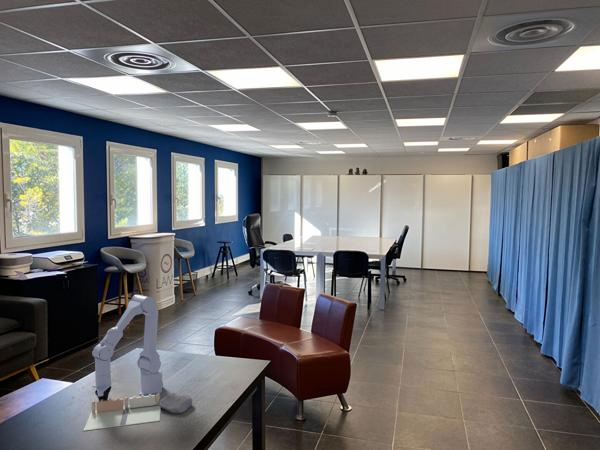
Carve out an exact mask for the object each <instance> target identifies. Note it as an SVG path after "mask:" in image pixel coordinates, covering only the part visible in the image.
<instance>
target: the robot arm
mask: <svg viewBox="0 0 600 450" xmlns="http://www.w3.org/2000/svg"><path fill="white" fill-rule="evenodd" d="M142 314H143V315H144V316H145V319H144V330H143V332H144V334H143V348H142V350H141V351H140V353H139V357H138V360H137V363H136V364H137V367H138V368H139V371H140V389H139V393H138V395H139V396H141V395H144V396H146V395H149V394H151V395H155V394H157V393H160V394H161V393H163V387H164V382H163V369H161V365H162V362H161V359H160V357H161V355H160V354H159V352H158V351H157V343H158V342H157V339H158V324H159V309H158V306H157V300H156V299H155V298H153V297H151V296H147V295H141V294H134V295H133V296H132V297H131V299H130V300H129V301H128V304H127V308H126V309H125V310H124V313H123V314H122V315H121V317H120V318H119V320H118V322H117V323H116V325H115V326H114V327H111V328H109V329H108V330H107V332H106V334H105V335H104V337H103V339H102V340H100V342H99V343H98V344H97V345H95V346H94V347H93V350H92V351H91V354H92V357H94V366H95V368H94V370H95V371H94V375H95V376H94V377H95V383H93V384H92V388H93V389H95V390H94V393H95V396H96V397H97V399H98V401H101V399H103V401H105V400H109V394H110V392H111V389H112V375H111V372H112V371H111V370H112V368H111V367H112V366H111V364H112V363H111V358H112V357H113V355H114V352H115V348H116V346H117V345H118V343H119V342H120V340H121V338H123V336H124V332H123V331H124V330H125V328H126V327H127V326H128V324H129V323H130V322H131V321H132V320H133V319H134V317H135V316H137V315H142Z"/></svg>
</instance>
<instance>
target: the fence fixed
mask: <svg viewBox="0 0 600 450" xmlns="http://www.w3.org/2000/svg"><path fill="white" fill-rule="evenodd" d="M160 400H161V393H155V394H148V395H139V396H137V395H133V396H132V397H131V396H130V397H128V396H125V397H124V405H125V409H128V405H129V406H130V408H136V407H144V406H152V405H155V402H156V405H157V406H158V405H159V403H160Z"/></svg>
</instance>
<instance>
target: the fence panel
mask: <svg viewBox="0 0 600 450" xmlns="http://www.w3.org/2000/svg"><path fill="white" fill-rule="evenodd" d="M90 402H91V405H90V407H91V411H92V413H95V409H97V412H103V411H111V410H120V409H123V408H124V405H125V404H124V398H120V397H116V398H115V399H112V398H111V397H110V398H108V400H105V401H103V399H101V401H99V400H98V401H96V400H91V401H90Z"/></svg>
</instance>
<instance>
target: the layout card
mask: <svg viewBox="0 0 600 450" xmlns="http://www.w3.org/2000/svg"><path fill="white" fill-rule="evenodd" d="M123 405H124V408H123V409H120V410H111V411H103V412H97V408H95V413H92V410H91V411H90V414H89V417H88V419H87V421H86V424H85V426H84V428H83V432H87V431H95V430H102V429H109V428H117V427H124V426H125V427H126V426H132V425H140V424H141V425H142V424H147V423H154V422H155V423H157V422H161V410H162V408H161V407H160V406H159V405H158V406H157V405H156V401H155V405H152V406H144V407H136V408H130V406H129V404H128V409H125V404H123Z"/></svg>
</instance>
